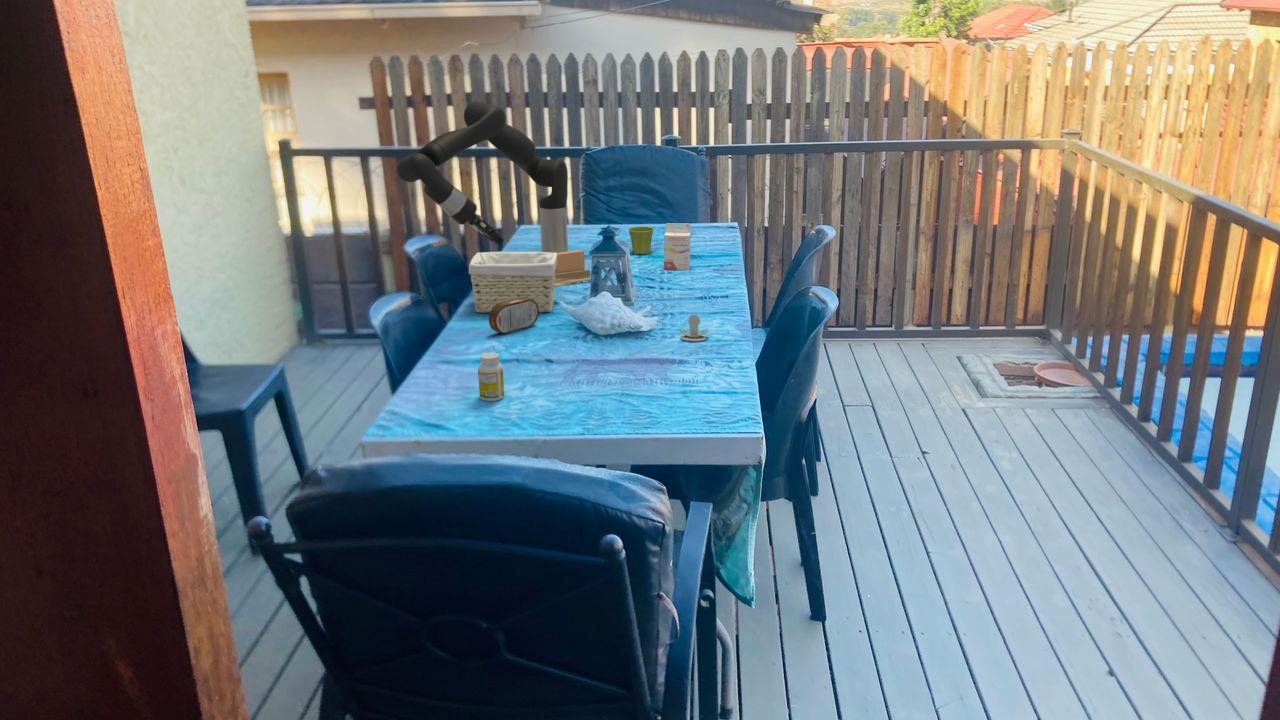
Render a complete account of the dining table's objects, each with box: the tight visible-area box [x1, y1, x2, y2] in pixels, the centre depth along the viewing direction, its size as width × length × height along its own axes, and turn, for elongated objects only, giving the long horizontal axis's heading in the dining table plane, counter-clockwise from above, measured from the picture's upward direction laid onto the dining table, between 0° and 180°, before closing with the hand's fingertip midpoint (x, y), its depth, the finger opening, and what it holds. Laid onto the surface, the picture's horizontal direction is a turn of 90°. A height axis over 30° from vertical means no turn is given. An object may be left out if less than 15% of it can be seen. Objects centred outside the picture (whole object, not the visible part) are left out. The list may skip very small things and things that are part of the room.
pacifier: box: [679, 313, 709, 342], centre depth 246 cm, size 7×6×6 cm
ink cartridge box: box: [663, 222, 692, 271], centre depth 315 cm, size 9×5×15 cm, turn 84°
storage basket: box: [468, 251, 557, 314], centre depth 274 cm, size 24×16×15 cm
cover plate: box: [555, 249, 586, 274], centre depth 303 cm, size 2×14×9 cm, turn 119°
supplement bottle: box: [477, 352, 505, 402], centre depth 208 cm, size 5×5×10 cm
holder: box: [554, 268, 591, 288], centre depth 303 cm, size 12×18×3 cm, turn 119°
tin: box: [488, 297, 540, 335], centre depth 254 cm, size 15×3×8 cm, turn 134°
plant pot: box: [627, 226, 655, 256], centre depth 338 cm, size 9×9×9 cm
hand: (497, 240), depth 289 cm, fingers open, 5 cm apart
